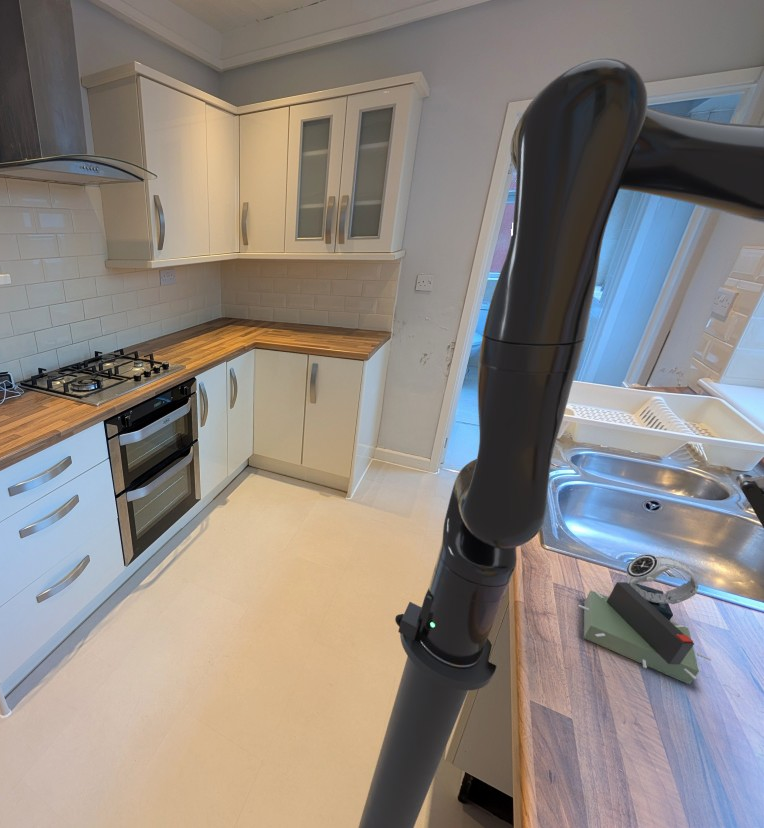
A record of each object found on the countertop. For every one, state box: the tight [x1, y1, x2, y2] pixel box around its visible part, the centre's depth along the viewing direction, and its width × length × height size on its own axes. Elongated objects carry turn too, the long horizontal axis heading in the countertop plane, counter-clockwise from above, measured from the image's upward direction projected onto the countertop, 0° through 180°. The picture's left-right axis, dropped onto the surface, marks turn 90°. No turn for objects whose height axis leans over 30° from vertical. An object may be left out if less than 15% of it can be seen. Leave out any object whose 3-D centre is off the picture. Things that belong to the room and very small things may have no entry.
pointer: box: [607, 581, 695, 664], centre depth 65 cm, size 11×2×5 cm, turn 179°
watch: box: [626, 554, 699, 621], centre depth 71 cm, size 6×8×11 cm
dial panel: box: [577, 589, 712, 685], centre depth 66 cm, size 15×15×3 cm
